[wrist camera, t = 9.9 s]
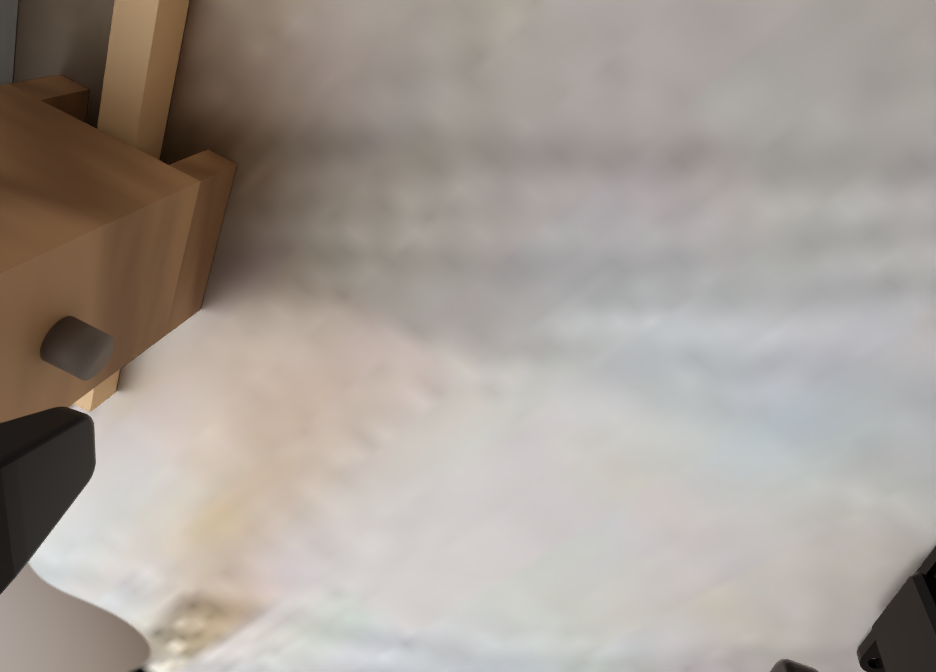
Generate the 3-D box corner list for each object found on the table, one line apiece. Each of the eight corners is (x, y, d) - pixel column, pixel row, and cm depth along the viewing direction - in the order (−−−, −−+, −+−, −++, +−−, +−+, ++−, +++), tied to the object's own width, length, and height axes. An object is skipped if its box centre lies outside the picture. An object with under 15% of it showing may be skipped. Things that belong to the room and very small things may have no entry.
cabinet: (266, 179, 22) (4, 319, 13) (226, 323, 24) (-14, 518, 16) (59, 74, 22) (-340, 144, 13) (42, 230, 24) (-298, 373, 16)
